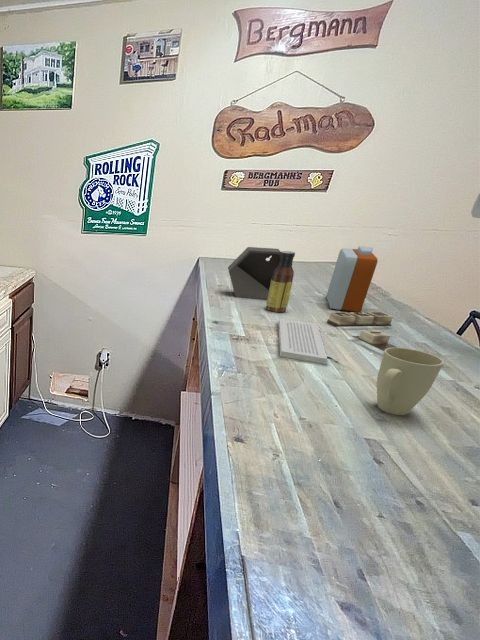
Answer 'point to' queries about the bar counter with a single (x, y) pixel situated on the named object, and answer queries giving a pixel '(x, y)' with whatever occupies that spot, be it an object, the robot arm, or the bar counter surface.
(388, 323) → the back rack
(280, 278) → the sauce bottle
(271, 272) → the planter
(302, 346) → the plaque
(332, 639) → the bar counter surface
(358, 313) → the s tile
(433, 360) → the mug
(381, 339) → the front rack
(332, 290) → the orange grey tall block
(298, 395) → the bar counter surface
